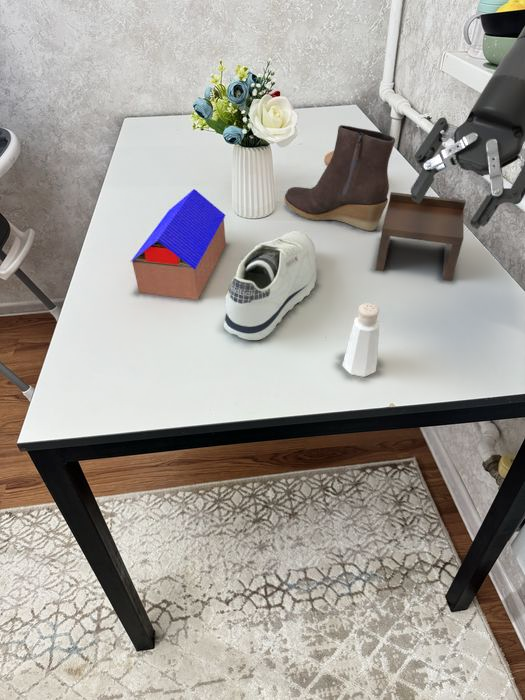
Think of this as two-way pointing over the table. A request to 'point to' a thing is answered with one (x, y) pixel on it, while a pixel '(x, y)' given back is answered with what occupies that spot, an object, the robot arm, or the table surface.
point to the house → (181, 249)
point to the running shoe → (270, 285)
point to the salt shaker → (363, 342)
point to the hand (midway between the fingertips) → (443, 213)
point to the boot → (349, 181)
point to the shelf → (424, 226)
